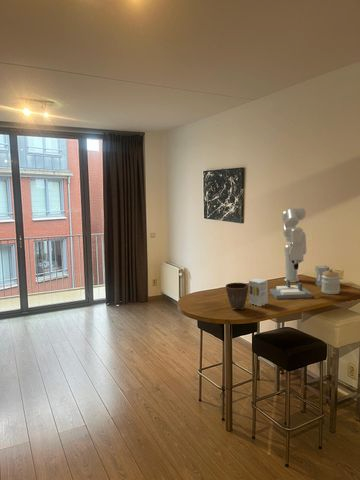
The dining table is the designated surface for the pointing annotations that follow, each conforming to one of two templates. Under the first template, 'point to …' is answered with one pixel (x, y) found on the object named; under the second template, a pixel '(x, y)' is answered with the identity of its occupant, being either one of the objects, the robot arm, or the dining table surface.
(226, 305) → the dining table surface
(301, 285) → the breaker handle
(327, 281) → the jar
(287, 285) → the breaker handle
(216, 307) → the dining table surface
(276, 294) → the breaker panel
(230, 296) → the plant pot
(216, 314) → the dining table surface
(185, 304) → the dining table surface
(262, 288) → the supplement box
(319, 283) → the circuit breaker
